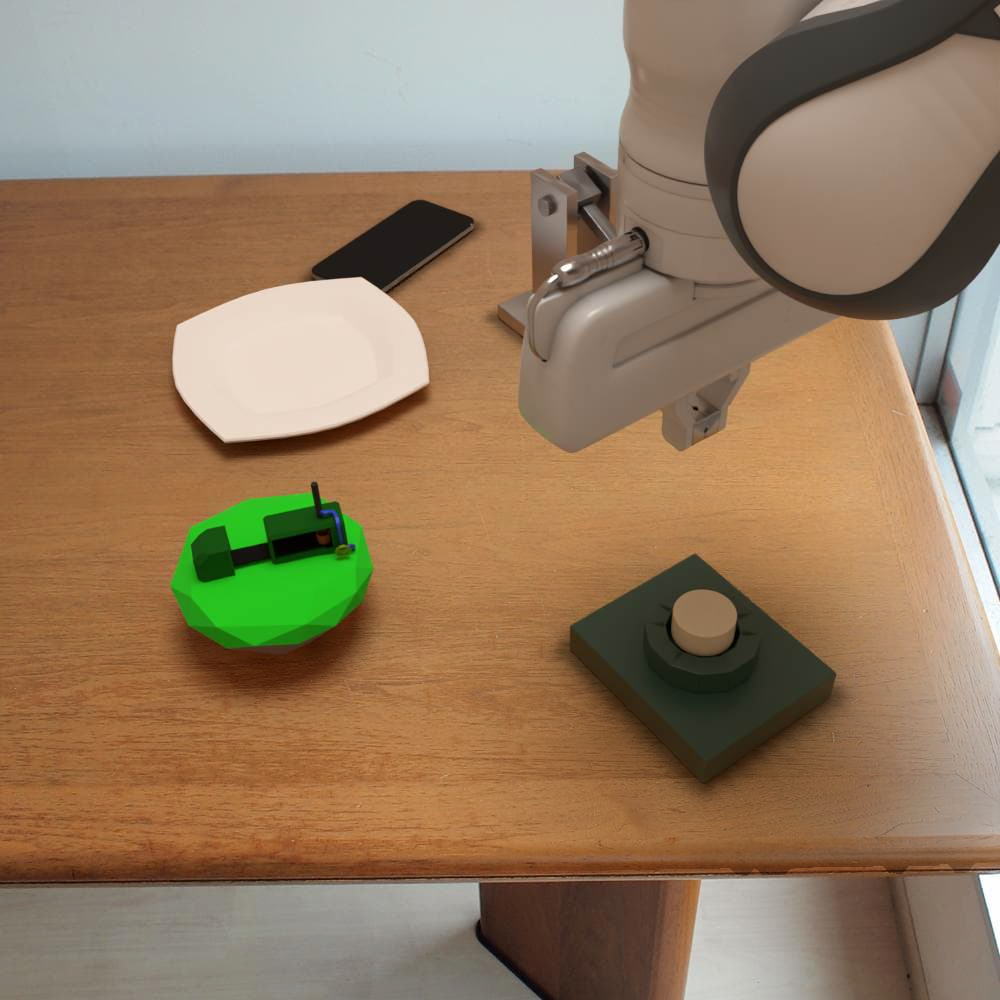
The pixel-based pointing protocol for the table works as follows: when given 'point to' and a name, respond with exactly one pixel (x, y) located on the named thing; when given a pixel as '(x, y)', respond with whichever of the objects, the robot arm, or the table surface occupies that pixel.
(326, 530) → the miniature building
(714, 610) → the button
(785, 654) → the control block
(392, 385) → the plate
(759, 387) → the table surface
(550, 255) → the pivoting lever stand
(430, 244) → the smartphone
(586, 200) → the press lever
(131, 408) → the table surface
